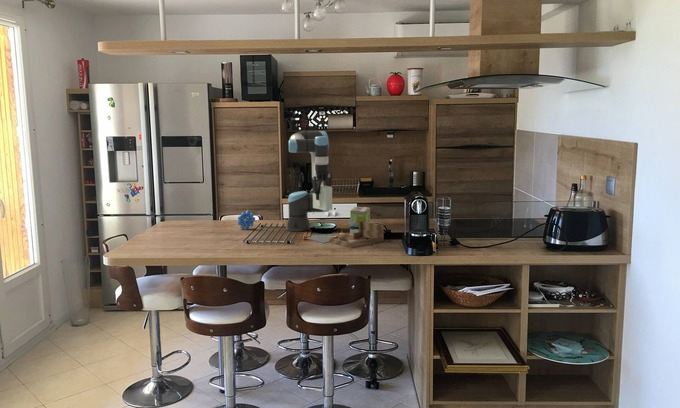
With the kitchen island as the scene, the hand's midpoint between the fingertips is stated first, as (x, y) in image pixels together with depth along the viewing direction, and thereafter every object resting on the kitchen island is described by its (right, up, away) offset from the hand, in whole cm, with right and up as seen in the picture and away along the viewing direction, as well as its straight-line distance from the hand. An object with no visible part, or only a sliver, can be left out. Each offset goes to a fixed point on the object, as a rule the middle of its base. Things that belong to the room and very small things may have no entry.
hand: (322, 204), depth 319 cm
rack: (+19, -21, -3) cm, 28 cm away
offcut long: (+14, -22, -8) cm, 27 cm away
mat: (0, -20, +3) cm, 20 cm away
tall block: (0, -2, 0) cm, 2 cm away
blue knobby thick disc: (-48, -15, +34) cm, 61 cm away
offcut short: (+13, -19, -8) cm, 25 cm away
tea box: (+22, -17, +21) cm, 35 cm away
